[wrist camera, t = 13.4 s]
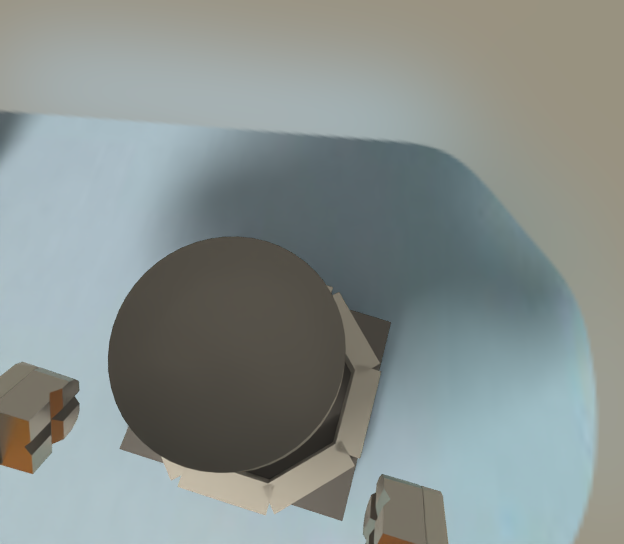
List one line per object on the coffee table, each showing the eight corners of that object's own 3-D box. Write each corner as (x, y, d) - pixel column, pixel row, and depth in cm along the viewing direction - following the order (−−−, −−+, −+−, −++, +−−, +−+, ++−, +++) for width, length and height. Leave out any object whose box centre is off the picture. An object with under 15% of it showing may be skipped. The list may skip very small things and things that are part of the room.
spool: (168, 426, 18) (59, 432, 9) (216, 300, 19) (161, 206, 11) (299, 469, 18) (310, 514, 9) (336, 337, 19) (375, 269, 11)
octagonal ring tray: (139, 453, 20) (102, 462, 16) (209, 275, 23) (192, 245, 19) (332, 516, 20) (342, 540, 16) (380, 327, 23) (399, 307, 19)
